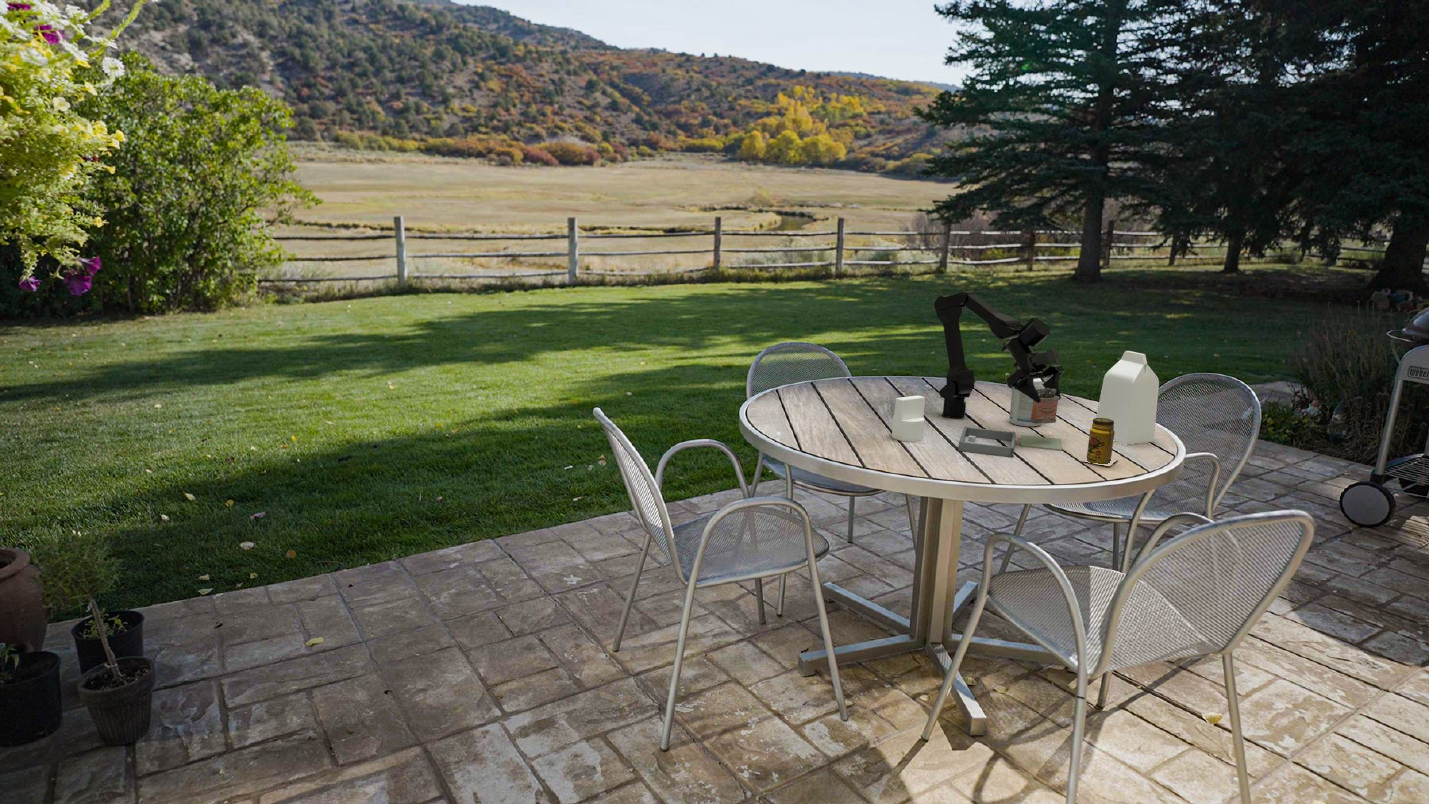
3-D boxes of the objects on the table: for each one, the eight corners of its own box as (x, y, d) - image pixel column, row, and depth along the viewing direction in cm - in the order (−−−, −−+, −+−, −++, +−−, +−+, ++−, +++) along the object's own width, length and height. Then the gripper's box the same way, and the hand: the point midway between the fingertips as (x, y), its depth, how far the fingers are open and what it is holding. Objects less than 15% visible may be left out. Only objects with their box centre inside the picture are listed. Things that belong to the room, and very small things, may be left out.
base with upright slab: (905, 443, 243) (908, 402, 240) (885, 435, 251) (888, 395, 248) (929, 439, 247) (932, 399, 244) (909, 431, 255) (912, 393, 252)
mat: (1020, 446, 242) (1020, 444, 242) (1021, 436, 252) (1021, 435, 252) (1061, 450, 238) (1061, 449, 238) (1061, 440, 248) (1061, 439, 248)
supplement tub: (1047, 425, 266) (1052, 379, 262) (1028, 429, 260) (1033, 382, 257) (1021, 418, 273) (1026, 373, 270) (1002, 421, 268) (1006, 376, 265)
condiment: (1080, 462, 228) (1086, 419, 225) (1090, 455, 235) (1096, 414, 232) (1109, 468, 224) (1115, 424, 221) (1118, 461, 230) (1124, 418, 227)
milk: (1092, 434, 256) (1104, 350, 250) (1120, 431, 260) (1132, 348, 254) (1125, 445, 245) (1138, 357, 239) (1153, 441, 250) (1166, 355, 243)
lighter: (1051, 419, 246) (1055, 386, 244) (1058, 422, 243) (1063, 389, 241) (1027, 421, 244) (1031, 387, 242) (1034, 424, 241) (1038, 390, 239)
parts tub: (958, 450, 236) (958, 442, 236) (963, 434, 252) (964, 426, 252) (1012, 457, 231) (1013, 448, 231) (1014, 440, 247) (1015, 432, 247)
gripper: (1018, 342, 237) (1045, 388, 230) (1063, 337, 246) (1091, 382, 239) (994, 364, 245) (1019, 409, 239) (1038, 359, 254) (1064, 403, 248)
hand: (1049, 400), depth 241 cm, fingers closed on lighter, 8 cm apart
